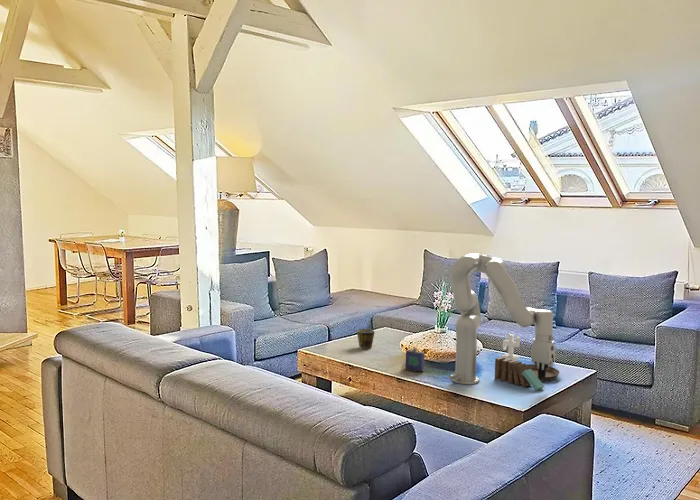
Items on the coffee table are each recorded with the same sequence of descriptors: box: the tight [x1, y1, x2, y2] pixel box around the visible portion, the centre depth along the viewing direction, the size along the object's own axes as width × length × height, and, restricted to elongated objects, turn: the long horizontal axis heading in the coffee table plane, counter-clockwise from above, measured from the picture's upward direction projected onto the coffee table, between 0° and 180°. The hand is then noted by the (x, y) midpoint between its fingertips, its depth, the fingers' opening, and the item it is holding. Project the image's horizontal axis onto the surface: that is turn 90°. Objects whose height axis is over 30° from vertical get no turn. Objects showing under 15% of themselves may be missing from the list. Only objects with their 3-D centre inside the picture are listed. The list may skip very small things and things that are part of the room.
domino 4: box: [511, 361, 523, 386], centre depth 294 cm, size 2×5×10 cm, turn 129°
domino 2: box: [500, 359, 512, 383], centre depth 299 cm, size 2×5×10 cm, turn 129°
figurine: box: [500, 333, 521, 362], centre depth 331 cm, size 7×9×15 cm
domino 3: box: [507, 360, 519, 384], centre depth 297 cm, size 2×5×10 cm, turn 129°
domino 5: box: [516, 362, 531, 388], centre depth 292 cm, size 2×5×10 cm, turn 129°
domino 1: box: [494, 356, 505, 381], centre depth 302 cm, size 2×5×10 cm, turn 129°
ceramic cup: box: [356, 328, 375, 351], centre depth 357 cm, size 13×10×10 cm
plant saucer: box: [525, 363, 560, 382], centre depth 308 cm, size 21×21×3 cm
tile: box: [522, 369, 545, 392], centre depth 288 cm, size 2×5×10 cm
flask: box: [404, 347, 425, 372], centre depth 314 cm, size 10×3×12 cm, turn 60°
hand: (541, 377), depth 285 cm, fingers closed
